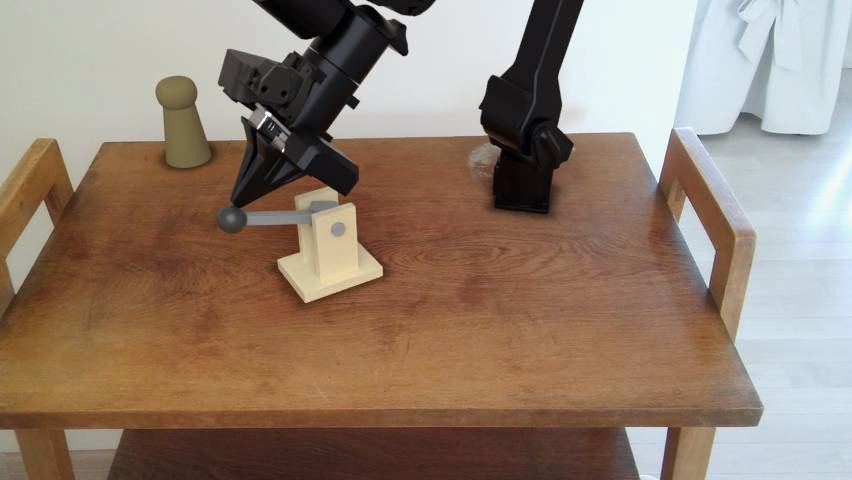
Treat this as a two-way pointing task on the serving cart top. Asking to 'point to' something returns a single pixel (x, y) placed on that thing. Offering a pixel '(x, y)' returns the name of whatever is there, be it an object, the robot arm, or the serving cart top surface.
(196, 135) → the olive pawn
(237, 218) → the switch lever
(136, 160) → the serving cart top surface
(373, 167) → the serving cart top surface
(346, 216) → the switch bracket
